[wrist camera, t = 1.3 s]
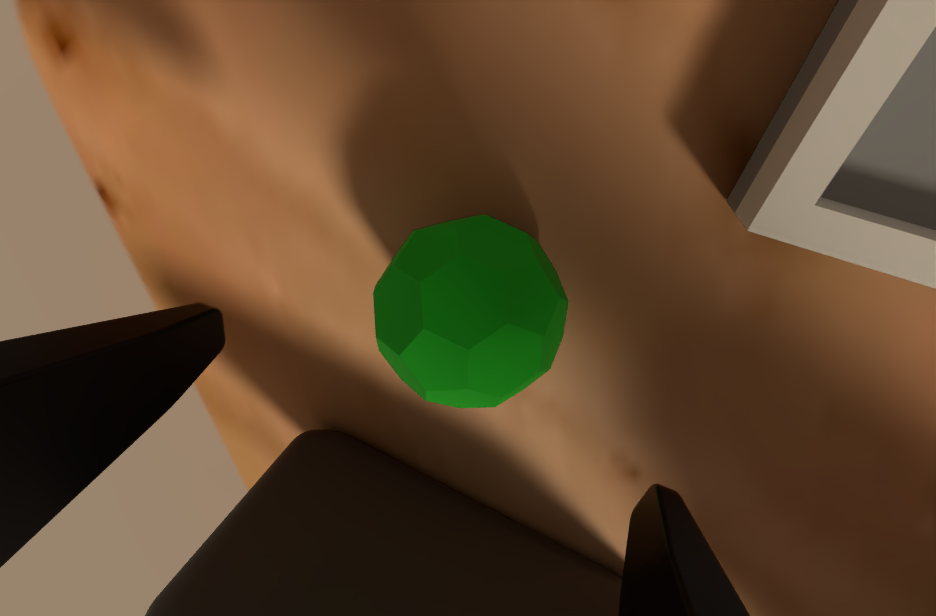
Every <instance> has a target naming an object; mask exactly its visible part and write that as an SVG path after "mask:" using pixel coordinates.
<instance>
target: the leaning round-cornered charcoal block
mask: <svg viewBox="0 0 936 616" xmlns="http://www.w3.org/2000/svg"><path fill="white" fill-rule="evenodd" d="M621 584H622V579H621V578H620V577H619V576H617V575H615V574H614V573H612V572H610V571H608V570H606V569H604V568H603V567H601V566H599V565H597V564H595V563H593V562H591V561H589V560H587V559H585V558H583V557H581V556H579V555H577V554H575V553H574V552H572V551H570V550H568V549H566V548H564V547H562V546H560V545H558V544H556V543H554V542H552V541H550V540H548V539H546V538H544V537H543V536H541V535H539V534H537V533H535V532H533V531H531V530H529V529H527V528H525V527H523V526H521V525H519V524H517V523H515V522H514V521H512V520H510V519H508V518H506V517H504V516H502V515H500V514H498V513H496V512H494V511H492V510H490V509H488V508H486V507H484V506H483V505H481V504H479V503H477V502H475V501H473V500H471V499H469V498H467V497H465V496H463V495H461V494H459V493H457V492H455V491H454V490H452V489H450V488H448V487H446V486H444V485H442V484H440V483H438V482H436V481H434V480H432V479H430V478H428V477H426V476H424V475H423V474H421V473H419V472H417V471H415V470H413V469H411V468H409V467H407V466H405V465H403V464H401V463H399V462H397V461H395V460H394V459H392V458H390V457H388V456H386V455H384V454H382V453H380V452H378V451H376V450H374V449H372V448H370V447H368V446H366V445H364V444H363V443H361V442H359V441H357V440H355V439H353V438H351V437H349V436H347V435H345V434H342V433H339V432H336V431H331V430H310V431H307V432H304V433H302V434H300V435H299V436H297V437H296V438H295V439H294V440H293V441H292V442H291V443H290V444H289V445H288V447H287V448H286V449H285V450H284V451H283V452H282V454H281V455H280V456H279V457H278V458H277V459H276V460H275V462H274V463H273V464H272V465H271V466H270V467H269V468H268V470H267V471H266V472H265V473H264V474H263V475H262V477H261V478H260V479H259V480H258V481H257V482H256V483H255V485H254V486H253V487H252V488H251V489H250V490H249V492H248V493H247V494H246V495H245V496H244V497H243V499H242V500H241V501H240V502H239V503H238V504H237V505H236V506H235V508H234V509H233V510H232V511H231V512H230V513H229V515H228V516H227V517H226V518H225V519H224V521H222V523H221V524H220V525H219V526H218V527H217V528H216V530H215V531H214V532H213V533H212V534H211V535H210V537H209V538H208V539H207V540H206V541H205V542H204V543H203V544H202V546H201V547H200V548H199V549H198V550H197V551H196V553H195V554H194V555H193V556H192V557H191V558H190V559H189V561H188V562H187V563H186V564H185V565H184V566H183V568H182V569H181V570H180V571H179V572H178V573H177V575H176V576H175V577H174V578H173V579H172V580H171V581H170V583H169V584H168V585H167V586H166V587H165V588H164V589H163V591H162V592H161V593H160V594H159V595H158V596H157V597H156V599H155V600H154V601H153V603H152V604H151V606H150V607H149V610H148V611H147V613H146V615H145V616H619V601H620V592H621Z"/></svg>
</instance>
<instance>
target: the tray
mask: <svg viewBox="0 0 936 616" xmlns="http://www.w3.org/2000/svg"><path fill="white" fill-rule="evenodd" d="M726 201H727V203H728V204H729V205H730V207H731V208H732V210H733V211H734V213H735V214H736V215H737V217H738V218H739V220H740V221H741V223H742V224H743V226H744V227H745V228H746V230H747V231H750V232H753V233H756V234H759V235H763V236H766V237H769V238H772V239H776V240H779V241H782V242H785V243H789V244H792V245H795V246H798V247H802V248H805V249H808V250H811V251H815V252H818V253H821V254H825V255H828V256H831V257H834V258H838V259H841V260H844V261H847V262H851V263H854V264H857V265H860V266H864V267H867V268H870V269H873V270H877V271H880V272H883V273H886V274H890V275H893V276H896V277H899V278H903V279H906V280H909V281H912V282H916V283H919V284H922V285H925V286H929V287H932V288H935V289H936V0H839V1H838V3H837V5H836V6H835V8H834V10H833V12H832V13H831V15H830V17H829V19H828V21H827V22H826V24H825V26H824V28H823V30H822V31H821V33H820V35H819V37H818V38H817V40H816V42H815V44H814V46H813V47H812V49H811V51H810V53H809V54H808V56H807V58H806V60H805V62H804V63H803V65H802V67H801V69H800V70H799V72H798V74H797V76H796V78H795V79H794V81H793V83H792V85H791V86H790V88H789V90H788V92H787V94H786V95H785V97H784V99H783V101H782V103H781V104H780V106H779V108H778V110H777V111H776V113H775V115H774V117H773V119H772V120H771V122H770V124H769V126H768V127H767V129H766V131H765V133H764V135H763V136H762V138H761V140H760V142H759V143H758V145H757V147H756V149H755V151H754V152H753V154H752V156H751V158H750V160H749V161H748V163H747V165H746V167H745V168H744V170H743V172H742V174H741V176H740V177H739V179H738V181H737V183H736V184H735V186H734V188H733V190H732V192H731V193H730V195H729V197H728V199H727V200H726Z"/></svg>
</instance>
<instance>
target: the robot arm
mask: <svg viewBox="0 0 936 616" xmlns="http://www.w3.org/2000/svg"><path fill="white" fill-rule="evenodd" d="M224 344H225V331H224V322H223V314H222V312H221V311H220V310H219V309H218V308H216V307H213V306H211V305H208V304H205V303H195V304H190V305H185V306H180V307H174V308H169V309H164V310H159V311H154V312H149V313H144V314H138V315H133V316H128V317H123V318H118V319H113V320H108V321H102V322H97V323H92V324H87V325H82V326H77V327H72V328H67V329H62V330H56V331H51V332H46V333H41V334H36V335H31V336H26V337H21V338H15V339H10V340H5V341H0V567H1V566H3V565H4V564H5V563H6V562H7V561H8V560H9V559H10V558H11V557H12V556H13V555H14V554H15V553H16V552H17V551H19V550H20V549H21V548H22V547H23V546H24V545H25V544H26V543H27V542H28V541H29V540H30V539H31V538H32V537H33V536H35V535H36V534H37V533H38V532H39V531H40V530H41V529H42V528H43V527H44V526H45V525H46V524H47V523H48V522H49V521H51V520H52V519H53V518H54V517H55V516H56V515H57V514H58V513H59V512H60V511H61V510H62V509H63V508H64V507H66V506H67V504H69V503H70V502H71V501H72V500H73V499H74V498H75V497H76V496H77V495H78V494H79V493H80V492H81V491H83V490H84V489H85V488H86V487H87V486H88V485H89V484H90V483H91V482H92V481H93V480H94V479H95V478H96V477H98V476H99V475H100V474H101V473H102V472H103V471H104V470H105V469H106V468H107V467H108V466H109V465H110V464H111V463H112V462H113V461H114V460H116V459H117V458H118V457H119V456H120V455H121V454H122V453H123V452H124V451H125V450H126V449H127V448H128V447H130V446H131V445H132V444H133V443H134V442H135V441H136V440H137V439H138V438H139V437H140V436H141V435H142V434H143V433H144V432H146V430H148V429H149V428H150V427H151V426H152V425H153V424H154V423H155V422H156V421H157V420H158V419H159V418H160V417H161V416H163V415H164V414H165V413H166V412H167V411H168V410H169V409H170V408H171V407H172V406H173V405H174V403H175V402H176V401H177V400H178V399H179V398H180V397H181V396H182V395H183V394H184V393H185V391H186V390H187V389H188V388H189V387H190V386H191V385H192V383H193V382H194V381H195V380H196V379H197V378H198V377H199V376H200V374H201V373H202V372H203V371H204V370H205V369H206V368H207V366H208V365H209V364H210V363H211V362H212V361H213V360H214V359H215V357H216V356H217V355H218V354H219V353H220V352H221V350H222V349H223V347H224ZM619 616H750V615H749V613H748V612H747V610H746V608H745V606H744V605H743V603H742V601H741V599H740V598H739V596H738V594H737V593H736V591H735V589H734V587H733V586H732V584H731V582H730V580H729V579H728V577H727V575H726V574H725V572H724V570H723V568H722V567H721V565H720V563H719V561H718V560H717V558H716V556H715V555H714V553H713V551H712V549H711V548H710V546H709V544H708V542H707V541H706V539H705V537H704V536H703V534H702V532H701V530H700V529H699V527H698V525H697V524H696V522H695V520H694V518H693V517H692V515H691V513H690V511H689V510H688V508H687V506H686V505H685V503H684V501H683V499H682V498H681V496H680V495H679V494H678V493H677V492H676V491H674V490H672V489H669V488H667V487H664V486H662V485H659V484H653V485H651V486H650V487H649V489H648V490H647V491H646V493H645V494H644V496H643V497H642V498H641V500H640V501H639V502H638V504H637V505H636V506H635V508H634V510H633V512H632V515H631V518H630V524H629V532H628V539H627V547H626V554H625V562H624V569H623V577H622V584H621V592H620V601H619Z"/></svg>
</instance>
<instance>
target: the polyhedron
mask: <svg viewBox="0 0 936 616" xmlns="http://www.w3.org/2000/svg"><path fill="white" fill-rule="evenodd" d="M373 296H374V312H375V329H376V339H377V343H378V348H379V351H380V352H381V354H382V355H383V356H384V358H385V359H386V360H387V361H388V363H389V364H390V365H391V367H392V368H393V369H394V370H395V372H396V373H397V374H398V376H399V377H400V378H401V379H402V380H403V381H404V382H405V383H406V384H407V385H408V386H409V387H411V388H412V389H413V390H414V391H415V392H416V393H417V394H418V395H420V396H421V397H422V398H423V399H424V400H425V401H430V402H434V403H439V404H443V405H448V406H453V407H457V408H481V407H496V406H498V405H499V404H501V403H503V402H504V401H506V400H507V399H509V398H511V397H512V396H514V395H516V394H517V393H519V392H520V391H522V390H524V389H525V388H526V387H527V386H529V385H530V384H531V383H533V382H534V381H535V380H536V379H538V378H539V377H540V376H542V375H543V374H544V373H545V372H547V371H548V370H549V369H550V368H551V365H552V363H553V360H554V358H555V355H556V353H557V350H558V347H559V345H560V342H561V340H562V337H563V332H564V326H565V319H566V313H567V306H568V299H567V297H566V294H565V292H564V290H563V287H562V285H561V282H560V280H559V277H558V275H557V272H556V271H555V269H554V267H553V266H552V264H551V262H550V261H549V259H548V257H547V256H546V254H545V253H544V251H543V249H542V248H541V246H540V244H539V243H538V241H537V240H535V239H534V238H533V237H531V236H530V235H529V234H527V233H526V232H524V231H522V230H519V229H517V228H515V227H513V226H510V225H508V224H506V223H504V222H501V221H499V220H497V219H495V218H492V217H490V216H488V215H475V216H471V217H466V218H461V219H456V220H452V221H447V222H443V223H439V224H435V225H431V226H427V227H424V228H420V229H416V230H413V231H412V233H411V234H410V235H409V237H408V238H407V240H406V241H405V242H404V244H403V245H402V247H401V248H400V249H399V251H398V252H397V253H396V255H395V256H394V258H393V259H392V261H391V262H390V264H389V265H388V267H387V269H386V270H385V272H384V273H383V275H382V276H381V278H380V279H379V281H378V283H377V284H376V286H375V289H374V292H373Z"/></svg>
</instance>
